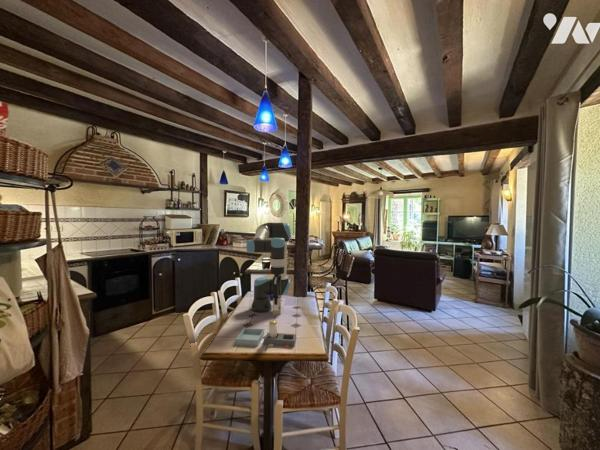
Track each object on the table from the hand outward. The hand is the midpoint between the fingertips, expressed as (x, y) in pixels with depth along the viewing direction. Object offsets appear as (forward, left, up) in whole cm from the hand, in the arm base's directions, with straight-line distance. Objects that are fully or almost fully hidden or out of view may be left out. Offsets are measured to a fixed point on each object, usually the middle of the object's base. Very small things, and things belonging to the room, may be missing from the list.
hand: (276, 308), depth 140 cm
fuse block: (+1, +3, -18) cm, 18 cm away
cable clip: (-76, -15, -19) cm, 80 cm away
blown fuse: (0, 0, -3) cm, 3 cm away
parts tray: (0, -14, -18) cm, 23 cm away
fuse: (+1, -2, -17) cm, 17 cm away
